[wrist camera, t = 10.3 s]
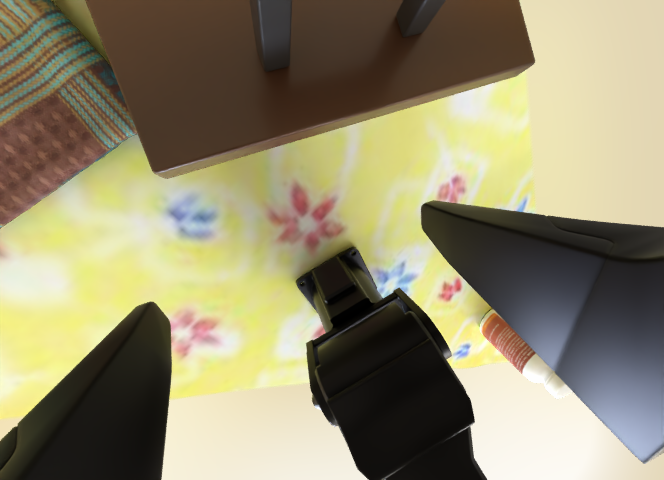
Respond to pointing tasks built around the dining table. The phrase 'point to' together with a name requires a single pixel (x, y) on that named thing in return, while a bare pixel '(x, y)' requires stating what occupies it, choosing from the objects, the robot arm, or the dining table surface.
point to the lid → (293, 66)
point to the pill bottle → (521, 354)
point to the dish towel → (51, 104)
